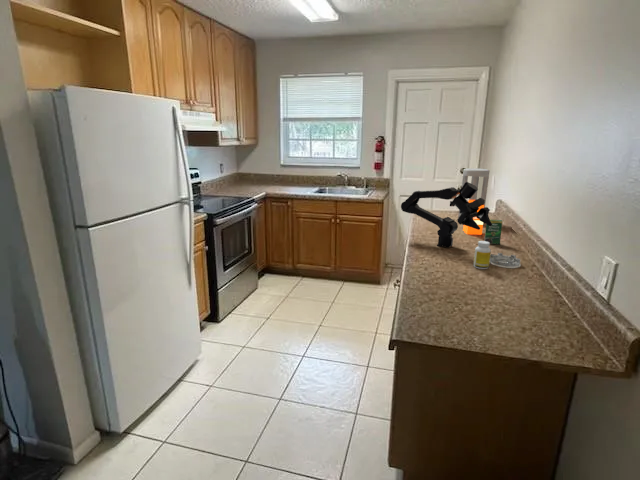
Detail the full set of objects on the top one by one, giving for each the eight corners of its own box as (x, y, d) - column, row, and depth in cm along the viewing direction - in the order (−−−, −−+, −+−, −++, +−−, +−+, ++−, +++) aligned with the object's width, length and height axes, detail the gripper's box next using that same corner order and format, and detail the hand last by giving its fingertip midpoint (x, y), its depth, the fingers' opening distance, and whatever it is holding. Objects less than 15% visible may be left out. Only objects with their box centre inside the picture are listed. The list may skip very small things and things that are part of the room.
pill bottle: (489, 270, 170) (493, 244, 167) (474, 269, 171) (477, 243, 168) (486, 265, 176) (490, 240, 173) (471, 264, 177) (475, 239, 174)
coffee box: (483, 243, 212) (486, 219, 209) (483, 241, 215) (486, 218, 211) (499, 244, 209) (503, 221, 205) (499, 243, 212) (503, 220, 208)
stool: (453, 219, 269) (459, 168, 259) (472, 218, 273) (478, 168, 264) (467, 224, 254) (474, 170, 245) (487, 223, 259) (494, 170, 250)
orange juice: (481, 234, 230) (486, 201, 224) (466, 234, 230) (470, 200, 225) (477, 231, 237) (481, 198, 232) (462, 231, 238) (466, 198, 232)
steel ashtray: (485, 264, 177) (486, 258, 176) (491, 256, 188) (492, 250, 188) (518, 270, 170) (519, 263, 169) (522, 262, 181) (523, 255, 181)
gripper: (459, 196, 184) (482, 218, 176) (484, 191, 193) (507, 212, 185) (448, 213, 192) (469, 235, 184) (472, 207, 201) (494, 228, 193)
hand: (485, 227), depth 186 cm, fingers open, 9 cm apart
